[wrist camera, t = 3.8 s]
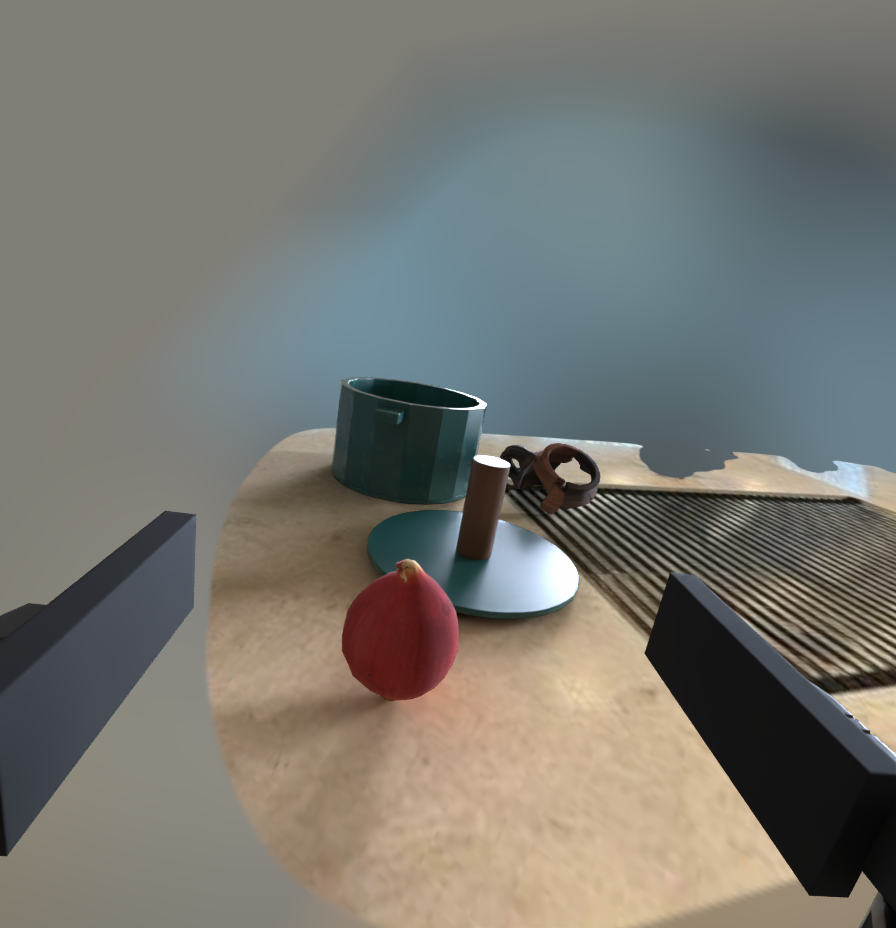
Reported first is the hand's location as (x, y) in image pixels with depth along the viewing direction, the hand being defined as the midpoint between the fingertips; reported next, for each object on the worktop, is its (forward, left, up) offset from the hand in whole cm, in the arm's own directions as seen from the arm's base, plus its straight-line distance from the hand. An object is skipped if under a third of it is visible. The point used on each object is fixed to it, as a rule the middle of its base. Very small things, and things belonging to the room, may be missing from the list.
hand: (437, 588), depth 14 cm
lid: (0, +26, -12) cm, 29 cm away
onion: (-2, +9, -12) cm, 16 cm away
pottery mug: (+6, +47, -12) cm, 49 cm away
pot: (-11, +44, -12) cm, 47 cm away
